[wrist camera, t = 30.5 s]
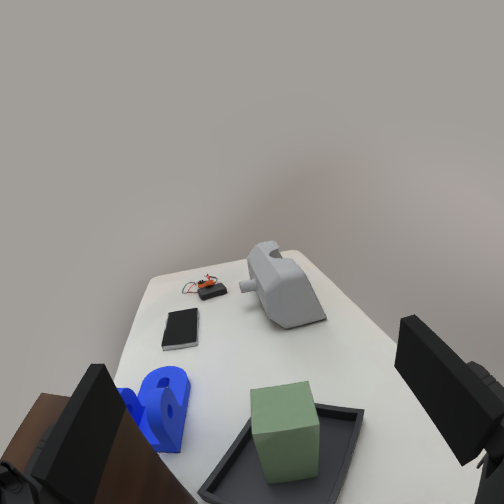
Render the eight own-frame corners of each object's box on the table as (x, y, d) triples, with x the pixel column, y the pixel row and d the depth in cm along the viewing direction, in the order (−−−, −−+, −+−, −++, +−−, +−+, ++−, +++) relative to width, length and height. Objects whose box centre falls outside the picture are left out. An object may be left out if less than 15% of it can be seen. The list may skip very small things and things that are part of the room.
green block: (267, 484, 25) (251, 434, 21) (264, 447, 31) (250, 389, 27) (318, 476, 25) (319, 423, 21) (310, 440, 31) (308, 380, 27)
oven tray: (202, 499, 24) (196, 492, 23) (267, 404, 39) (265, 393, 39) (320, 537, 17) (321, 533, 16) (362, 420, 33) (364, 409, 32)
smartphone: (160, 347, 56) (167, 312, 70) (162, 351, 56) (168, 316, 70) (197, 341, 57) (198, 307, 71) (198, 346, 57) (199, 311, 71)
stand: (119, 548, 15) (-3, 463, 9) (131, 495, 24) (41, 392, 18) (192, 561, 15) (85, 500, 9) (197, 502, 24) (122, 401, 17)
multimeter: (180, 281, 92) (177, 272, 91) (215, 272, 95) (213, 263, 94) (185, 305, 75) (182, 293, 74) (227, 294, 78) (225, 282, 77)
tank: (237, 289, 80) (229, 247, 76) (292, 277, 82) (288, 235, 78) (254, 339, 56) (244, 284, 53) (328, 320, 58) (325, 266, 55)
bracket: (179, 452, 31) (156, 414, 29) (127, 449, 32) (99, 411, 29) (193, 373, 49) (179, 333, 46) (151, 375, 49) (135, 337, 46)
